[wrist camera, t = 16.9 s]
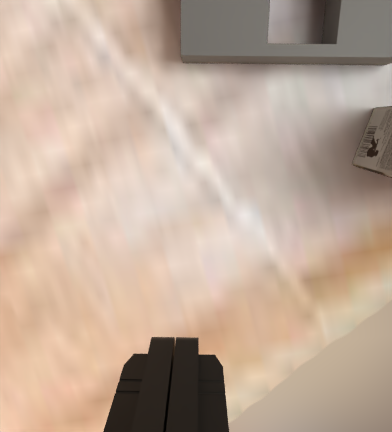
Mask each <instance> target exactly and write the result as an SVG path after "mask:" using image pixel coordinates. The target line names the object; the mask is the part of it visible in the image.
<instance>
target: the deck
mask: <svg viewBox="0 0 392 432" xmlns="http://www.w3.org/2000/svg"><path fill="white" fill-rule="evenodd" d="M269 8H270V0H181V58H182V61H183V63H241V64H340V65H387V64H390V63H392V0H326V4H325V14H324V24H323V34H322V44H267V40H268V24H269Z"/></svg>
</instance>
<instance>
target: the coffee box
mask: <svg viewBox="0 0 392 432" xmlns="http://www.w3.org/2000/svg"><path fill="white" fill-rule="evenodd" d="M352 164H353V165H354V166H356V167H359V168H362V169H366V170H369V171H372V172H375V173H378V174H381V175H385V176H388V177H391V178H392V106H387V107H377V108H374V110H373V113H372V115H371V118H370V120H369V122H368V125H367V127H366V130H365V132H364V135H363V137H362V140H361V142H360V145H359V147H358V150H357V152H356V155H355V157H354V160H353V162H352Z"/></svg>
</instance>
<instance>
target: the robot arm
mask: <svg viewBox="0 0 392 432" xmlns="http://www.w3.org/2000/svg"><path fill="white" fill-rule="evenodd" d="M103 432H229V427H228V417H227V406H226V396H225V385H224V375H223V366H222V365H221V363H220V362H219V360H218V359H217V357H216V356H215V355H198V338H184V337H176V343H175V338H174V337H152V338H151V342H150V347H149V351H148V354H133V356H132V357H131V358H130V359H129V360H128V361H127V362H126V363H125V365H124V367H123V370H122V373H121V376H120V381H119V383H118V386H117V389H116V394H115V396H114V399H113V402H112V405H111V409H110V412H109V415H108V418H107V422H106V425H105V428H104V431H103Z"/></svg>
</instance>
